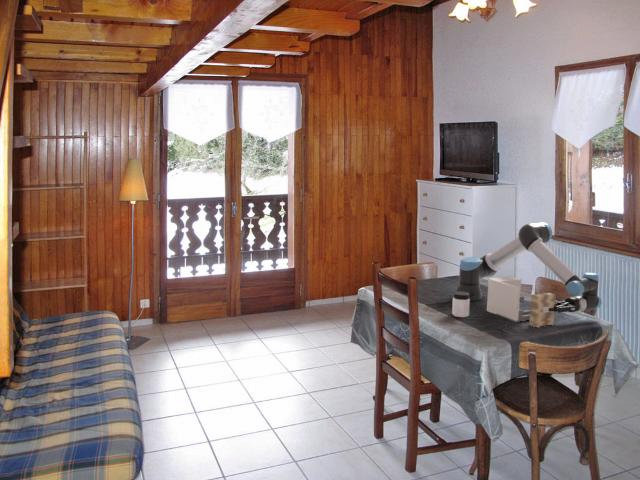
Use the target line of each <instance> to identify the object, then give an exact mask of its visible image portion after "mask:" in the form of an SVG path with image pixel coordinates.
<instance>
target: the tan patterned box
mask: <svg viewBox="0 0 640 480" xmlns="http://www.w3.org/2000/svg"><path fill="white" fill-rule="evenodd" d="M556 295H557V294H555V293H552V292H544V293H535V294H531V295H530V296H531V297H530V309H529V310H530V320H529V325H531V326H530V327H532V326H533V327H532V328H534V327H537V328H541V327H540V326H544V327H546V326H545V325H550V324H554V323H555V312H554V311H553V312H546V313H542V311H543V307H549V306H554V305H555V300H556Z"/></svg>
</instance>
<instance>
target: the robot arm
mask: <svg viewBox="0 0 640 480" xmlns="http://www.w3.org/2000/svg"><path fill="white" fill-rule="evenodd" d="M517 234H518V237H516V238H514V239H512V241H509V242H508V243H507V244H505V245H504V246H502V247H500V248H499V249H497V250H495V252H493V253H491V252H490V253H486V254H485V255H483V256H481V257H476V256H475V257H474V256H473V257H472V256H470V257H464V258H462V259H461V260H460V262H459V280H458V281H459V282H458V286H457V289H456V291H455V292H458V291H461V292H467V293H469V299H470V301H471V302H472V301H473V302H475V301H480V300H482V297H483V295H482V290H481V286H480V281H481V279H484V278H489V277H493V276H495V275H496V274H497V273H498V271H499V270H501V266H503V265H504V264H506V263H507V262H509V261H511V260H513V259H514V258H515V257H517V256H519V255H521V254H522V253H524V252H525V251H527V252H528V253H532V254H533V255H534V256H536V258H537V259H538V260H539V261H540V262H541V263H542V264H543V265H544V266H545V267H546V268H547V269H549V271H550V272H552V274H553V275H554V276H556V277H557V279H558V280H560V281H561V282H562V284H563V285H564V286H565V287H566V292H567V294H568V295H570V296H572V297H567V298H565V299H564V300H561V301H558V300H556V299H555V305H554V306H549V307H543V311H542V313H546V312H553V311H554V313H556V312H557V313H558V314H559V313H567V312H568V313H576V312H578V313H580V312H583V311H593V310H596V309H599V308H601V306H602V304H603V303H602V302H603V301H602V298H601V296H600V295H598V291H599V290H598V289H599V282H600V279H599V278H600V276H599V274H598V273H595V272H584V273H583V274H582V278H580V277H579V276H578V275H577V274H575V273H574V271H573V270H572V269H571V268H569V267H568V266H567V265H566V264H565V262H564V261H563V260H562V259H561V258H559V257H558V255H556V254H555V253H554V252H553V250H552V249H550V248H549V247H548V246H547V245H546V244H547V243H548V242H550V241H551V240H552V237H553V230H552V227H551V226H550V225H549V224H548V223H546V222H544V221H543V222H542V221H538V222H534V223H527V224H524V225H522V227H521V228H519V231H518V233H517Z"/></svg>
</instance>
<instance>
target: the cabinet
mask: <svg viewBox="0 0 640 480" xmlns="http://www.w3.org/2000/svg"><path fill="white" fill-rule="evenodd" d="M521 288H522V278H519V277H514V276H503V277H502V276H501V277H492V278H488V285H487V300H486V301H487V303H486V306H487V307H486V312H489V313H491V314H493V315H496V316H498V317H501V318H504V319H506V320H508V321H512V322H514V323H521V322H520V321H522V322H527V321H526V320H529V321H530V309H529V310H524V309H520V306H521V304H524V303H525V297H524V296H521V291H522V289H521Z"/></svg>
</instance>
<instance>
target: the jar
mask: <svg viewBox="0 0 640 480" xmlns="http://www.w3.org/2000/svg"><path fill="white" fill-rule="evenodd" d="M470 303H471V302H470V299H469V293H467V292H461V291H458V292H456V291H455V292H453V296H452V305H451V306H452V308H451V310H452V311H451V314H452V315H453V316H454V317H456V318H457V317H458V318H467V317H469V316H470Z"/></svg>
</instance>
